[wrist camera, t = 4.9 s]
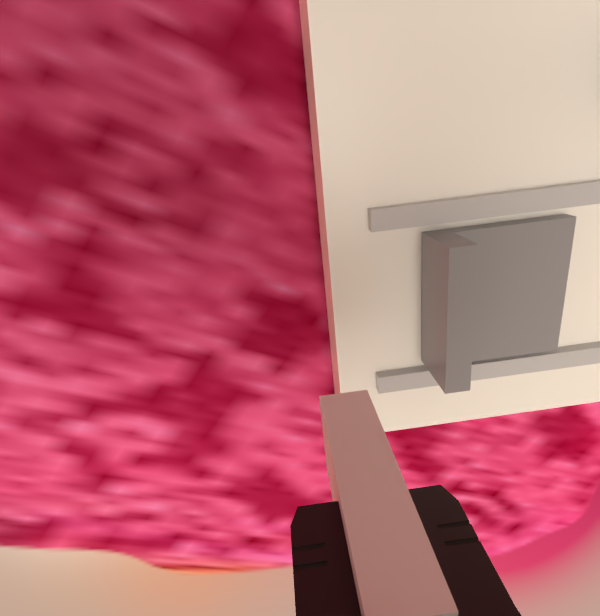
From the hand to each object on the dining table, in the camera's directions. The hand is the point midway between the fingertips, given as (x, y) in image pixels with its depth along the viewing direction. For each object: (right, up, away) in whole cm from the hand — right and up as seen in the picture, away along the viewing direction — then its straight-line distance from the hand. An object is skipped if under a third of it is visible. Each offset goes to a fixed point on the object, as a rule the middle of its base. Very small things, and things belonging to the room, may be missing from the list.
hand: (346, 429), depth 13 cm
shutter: (+8, +5, +8) cm, 12 cm away
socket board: (+10, +9, +10) cm, 16 cm away
